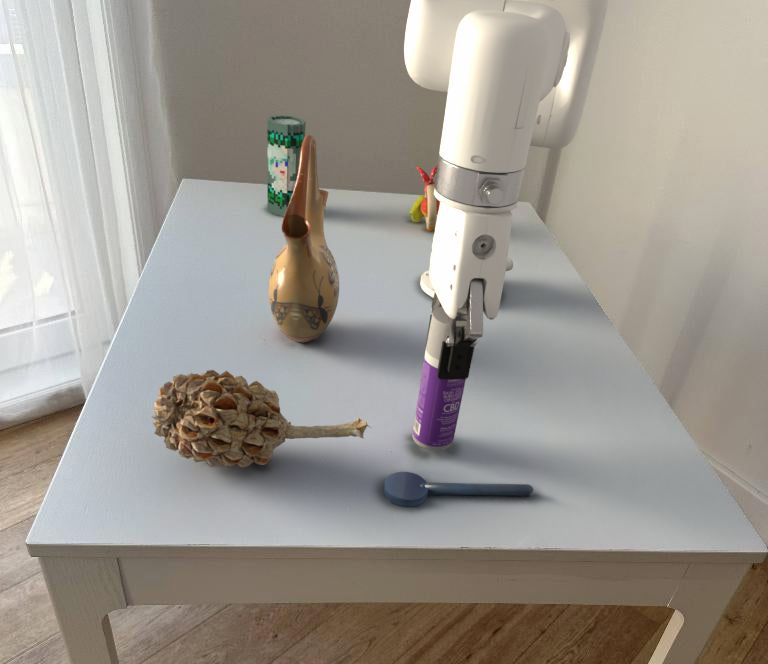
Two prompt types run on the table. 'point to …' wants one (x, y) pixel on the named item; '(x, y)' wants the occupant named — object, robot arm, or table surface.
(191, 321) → the table surface
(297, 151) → the can
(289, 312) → the ceramic vessel
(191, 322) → the table surface
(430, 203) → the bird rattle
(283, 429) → the pine cone
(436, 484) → the spoon
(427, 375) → the container
